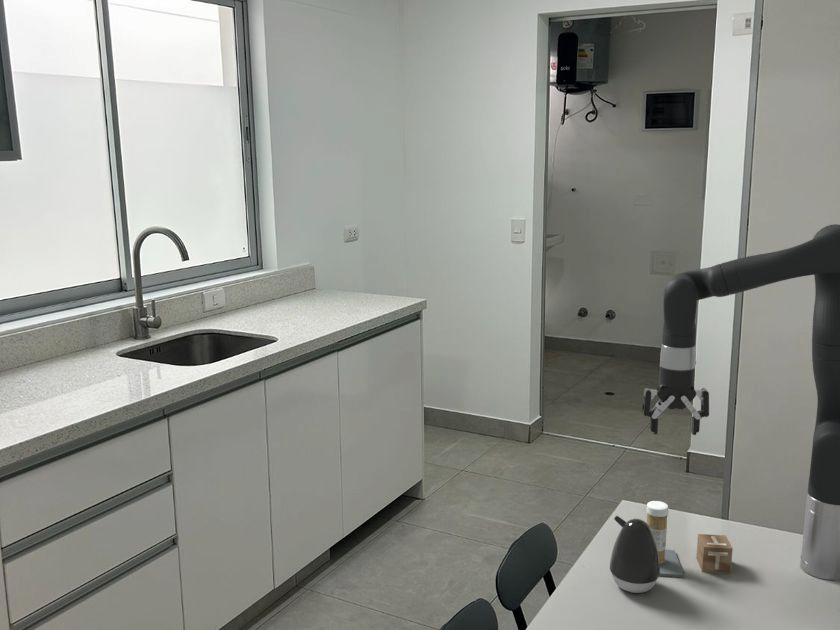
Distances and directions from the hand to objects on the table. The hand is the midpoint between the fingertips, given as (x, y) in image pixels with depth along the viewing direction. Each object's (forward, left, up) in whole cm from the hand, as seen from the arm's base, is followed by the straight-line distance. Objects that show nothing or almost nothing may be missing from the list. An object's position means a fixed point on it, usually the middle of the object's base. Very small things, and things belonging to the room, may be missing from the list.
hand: (674, 433), depth 185 cm
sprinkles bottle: (+4, +9, -27) cm, 29 cm away
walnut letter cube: (-9, +8, -28) cm, 30 cm away
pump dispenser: (+10, +19, -28) cm, 35 cm away
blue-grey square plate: (+4, +9, -27) cm, 29 cm away
